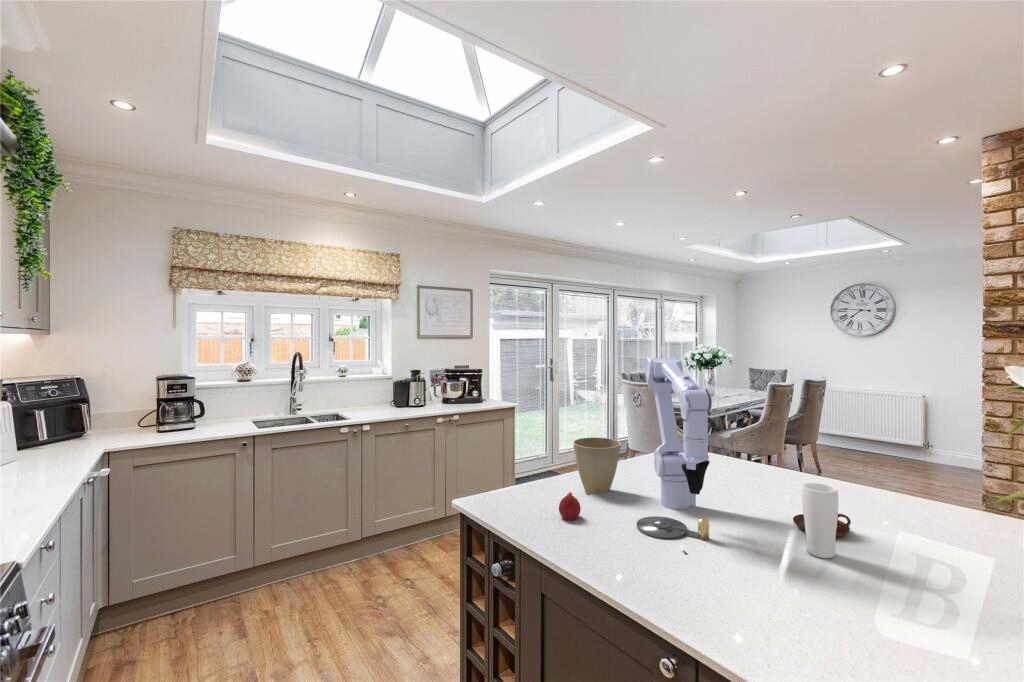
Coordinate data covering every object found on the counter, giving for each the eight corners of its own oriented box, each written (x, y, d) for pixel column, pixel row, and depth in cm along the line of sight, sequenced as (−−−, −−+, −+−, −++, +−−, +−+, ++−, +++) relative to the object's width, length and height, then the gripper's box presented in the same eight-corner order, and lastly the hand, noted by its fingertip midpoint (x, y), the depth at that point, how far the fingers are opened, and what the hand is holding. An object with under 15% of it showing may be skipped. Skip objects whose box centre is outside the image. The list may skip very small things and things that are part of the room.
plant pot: (565, 494, 147) (564, 444, 147) (586, 482, 159) (585, 435, 159) (610, 503, 138) (609, 449, 138) (628, 489, 150) (627, 440, 150)
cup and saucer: (843, 525, 121) (843, 501, 121) (855, 544, 110) (855, 518, 110) (790, 518, 126) (790, 495, 126) (796, 535, 115) (796, 511, 115)
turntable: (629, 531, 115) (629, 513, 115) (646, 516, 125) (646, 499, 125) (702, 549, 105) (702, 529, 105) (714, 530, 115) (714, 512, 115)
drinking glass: (833, 549, 107) (832, 484, 107) (843, 563, 100) (842, 493, 100) (799, 545, 109) (798, 481, 109) (807, 558, 103) (806, 490, 102)
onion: (580, 527, 121) (579, 496, 121) (557, 525, 122) (557, 495, 122) (581, 518, 127) (580, 489, 127) (560, 517, 128) (559, 488, 128)
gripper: (684, 430, 125) (684, 481, 125) (673, 441, 112) (673, 497, 113) (712, 433, 121) (713, 485, 122) (704, 444, 109) (705, 502, 109)
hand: (696, 491), depth 117 cm, fingers open, 3 cm apart
